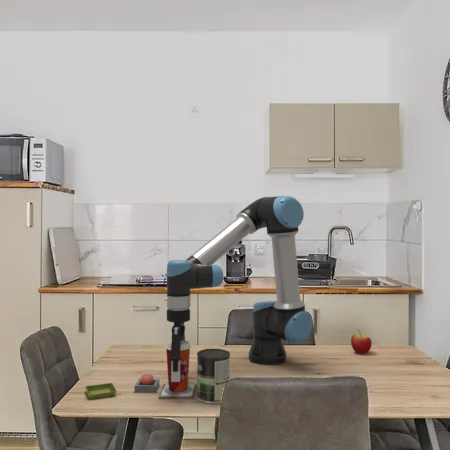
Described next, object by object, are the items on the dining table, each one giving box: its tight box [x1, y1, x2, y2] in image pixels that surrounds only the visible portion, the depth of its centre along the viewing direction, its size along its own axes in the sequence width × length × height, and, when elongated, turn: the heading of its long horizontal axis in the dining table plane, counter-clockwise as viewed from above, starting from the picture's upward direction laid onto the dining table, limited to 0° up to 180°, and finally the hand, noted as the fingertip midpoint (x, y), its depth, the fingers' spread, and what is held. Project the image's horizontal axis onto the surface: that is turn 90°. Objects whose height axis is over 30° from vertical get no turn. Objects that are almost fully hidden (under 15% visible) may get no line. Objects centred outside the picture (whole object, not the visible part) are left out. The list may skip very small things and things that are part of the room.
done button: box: [140, 374, 154, 385], centre depth 158 cm, size 4×4×3 cm
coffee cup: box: [164, 339, 191, 392], centre depth 155 cm, size 8×8×15 cm
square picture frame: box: [157, 383, 197, 400], centre depth 155 cm, size 11×12×1 cm
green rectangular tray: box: [84, 382, 117, 400], centre depth 153 cm, size 9×9×2 cm
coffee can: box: [196, 348, 231, 405], centre depth 150 cm, size 10×10×14 cm
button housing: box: [134, 378, 161, 394], centre depth 158 cm, size 7×7×2 cm
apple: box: [350, 328, 372, 355], centre depth 201 cm, size 8×8×10 cm
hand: (178, 374), depth 155 cm, fingers open, 13 cm apart
